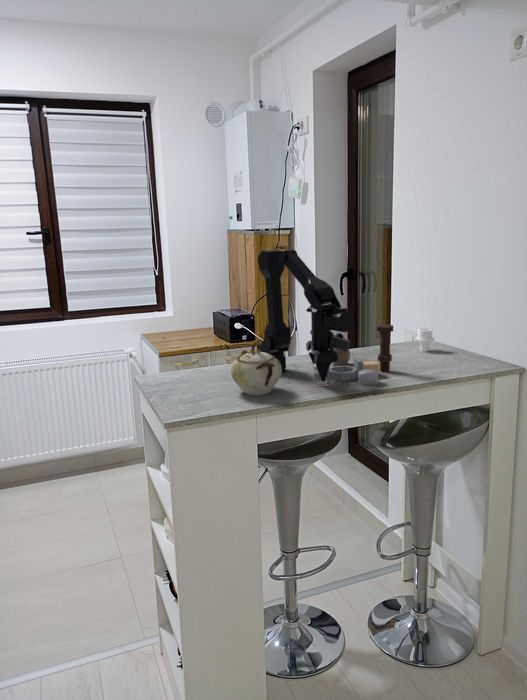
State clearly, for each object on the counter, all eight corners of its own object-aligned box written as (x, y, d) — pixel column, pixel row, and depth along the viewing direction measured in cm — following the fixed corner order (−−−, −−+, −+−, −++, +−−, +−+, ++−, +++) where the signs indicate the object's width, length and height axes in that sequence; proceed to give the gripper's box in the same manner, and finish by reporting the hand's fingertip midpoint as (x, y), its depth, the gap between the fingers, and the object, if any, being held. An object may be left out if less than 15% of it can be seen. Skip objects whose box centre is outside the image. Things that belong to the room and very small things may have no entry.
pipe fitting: (421, 347, 223) (422, 327, 221) (437, 350, 218) (438, 329, 216) (411, 350, 219) (411, 329, 217) (427, 353, 214) (427, 331, 212)
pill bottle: (323, 381, 182) (323, 355, 180) (332, 385, 178) (332, 358, 176) (311, 383, 180) (310, 357, 178) (319, 387, 176) (319, 360, 174)
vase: (327, 366, 200) (327, 341, 198) (332, 361, 207) (331, 337, 205) (348, 367, 198) (348, 341, 196) (351, 362, 205) (351, 337, 203)
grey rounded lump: (360, 386, 176) (360, 374, 175) (355, 380, 182) (355, 369, 181) (380, 385, 177) (380, 373, 176) (374, 379, 183) (374, 368, 182)
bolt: (392, 373, 189) (393, 327, 185) (376, 373, 190) (377, 327, 186) (392, 368, 194) (393, 324, 191) (376, 368, 195) (377, 324, 192)
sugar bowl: (295, 395, 169) (294, 344, 165) (247, 404, 162) (245, 351, 159) (265, 380, 186) (264, 333, 183) (221, 387, 180) (219, 338, 177)
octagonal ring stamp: (331, 381, 182) (331, 365, 181) (325, 374, 191) (325, 358, 189) (381, 378, 183) (381, 362, 182) (372, 371, 192) (372, 355, 191)
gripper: (355, 332, 167) (355, 385, 170) (340, 321, 185) (340, 369, 188) (316, 334, 166) (317, 387, 169) (305, 323, 184) (306, 371, 187)
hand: (321, 378), depth 179 cm, fingers open, 5 cm apart
